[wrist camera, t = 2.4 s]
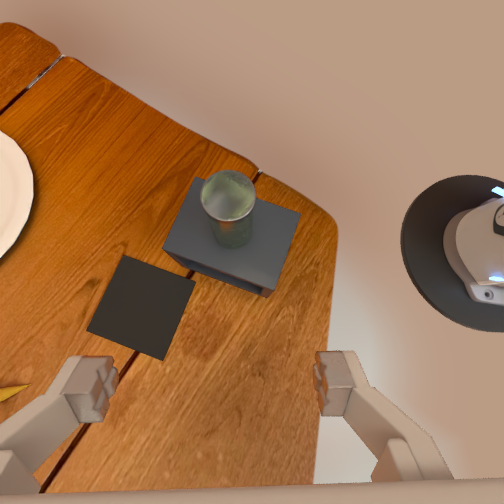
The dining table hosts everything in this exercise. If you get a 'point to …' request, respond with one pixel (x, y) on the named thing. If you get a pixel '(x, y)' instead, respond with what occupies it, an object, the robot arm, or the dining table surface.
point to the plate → (13, 192)
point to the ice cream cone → (10, 391)
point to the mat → (142, 307)
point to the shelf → (233, 260)
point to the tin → (229, 207)
